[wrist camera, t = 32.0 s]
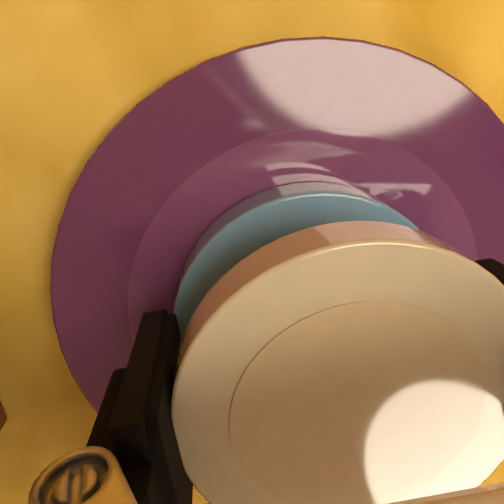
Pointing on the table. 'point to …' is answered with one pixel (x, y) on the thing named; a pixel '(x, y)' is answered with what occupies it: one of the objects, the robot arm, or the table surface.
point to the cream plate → (343, 371)
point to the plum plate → (263, 173)
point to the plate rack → (2, 417)
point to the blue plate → (269, 231)
